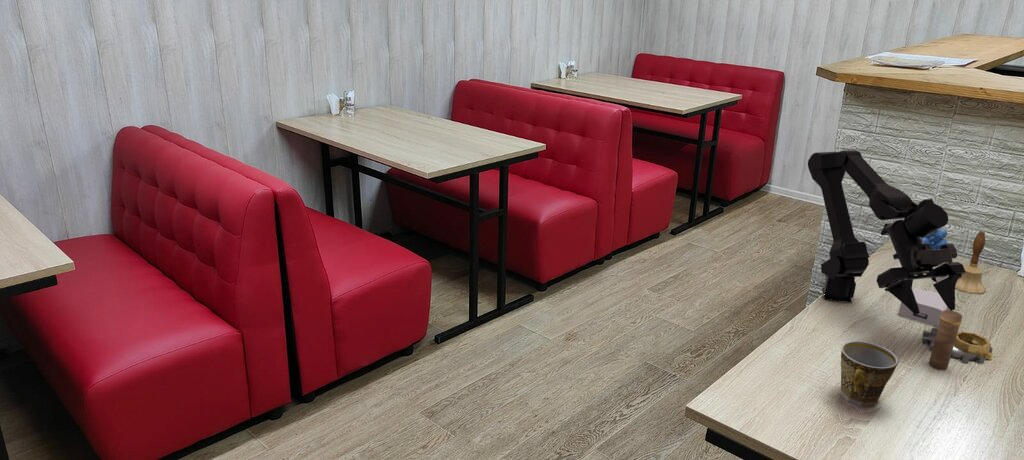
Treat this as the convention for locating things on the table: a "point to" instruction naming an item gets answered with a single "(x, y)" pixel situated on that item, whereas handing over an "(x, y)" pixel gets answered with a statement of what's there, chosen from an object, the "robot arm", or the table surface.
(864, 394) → the ceramic cup
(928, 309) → the charger
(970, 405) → the table surface
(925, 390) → the table surface
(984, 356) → the sprocket
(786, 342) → the table surface
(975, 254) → the hand bell
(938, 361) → the peg
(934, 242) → the grapes
